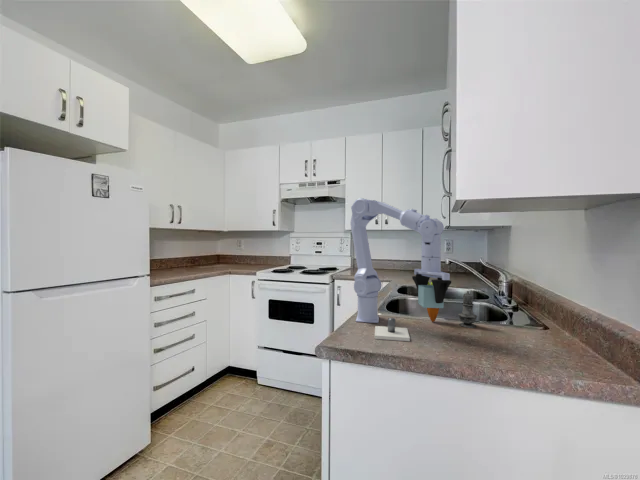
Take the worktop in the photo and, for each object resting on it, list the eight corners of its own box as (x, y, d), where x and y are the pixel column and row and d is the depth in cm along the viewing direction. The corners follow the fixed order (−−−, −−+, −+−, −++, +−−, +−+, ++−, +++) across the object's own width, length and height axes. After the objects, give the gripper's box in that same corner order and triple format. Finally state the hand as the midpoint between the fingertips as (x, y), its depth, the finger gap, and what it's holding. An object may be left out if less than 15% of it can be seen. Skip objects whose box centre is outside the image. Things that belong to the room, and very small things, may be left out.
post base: (375, 328, 99) (375, 313, 99) (406, 331, 97) (407, 315, 97) (374, 338, 90) (374, 321, 90) (409, 341, 88) (409, 324, 88)
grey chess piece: (478, 328, 100) (478, 292, 100) (459, 327, 102) (459, 291, 102) (475, 324, 106) (476, 289, 106) (457, 322, 108) (457, 288, 108)
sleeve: (418, 303, 98) (418, 284, 98) (437, 303, 98) (437, 285, 98) (423, 307, 92) (423, 288, 92) (443, 308, 92) (443, 288, 92)
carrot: (422, 321, 108) (423, 279, 108) (429, 319, 112) (430, 278, 112) (436, 324, 105) (436, 281, 105) (442, 322, 108) (443, 280, 108)
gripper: (406, 255, 101) (406, 296, 101) (435, 258, 87) (435, 306, 87) (424, 255, 103) (424, 295, 103) (455, 258, 89) (455, 304, 89)
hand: (430, 300), depth 95 cm, fingers closed on sleeve, 7 cm apart
